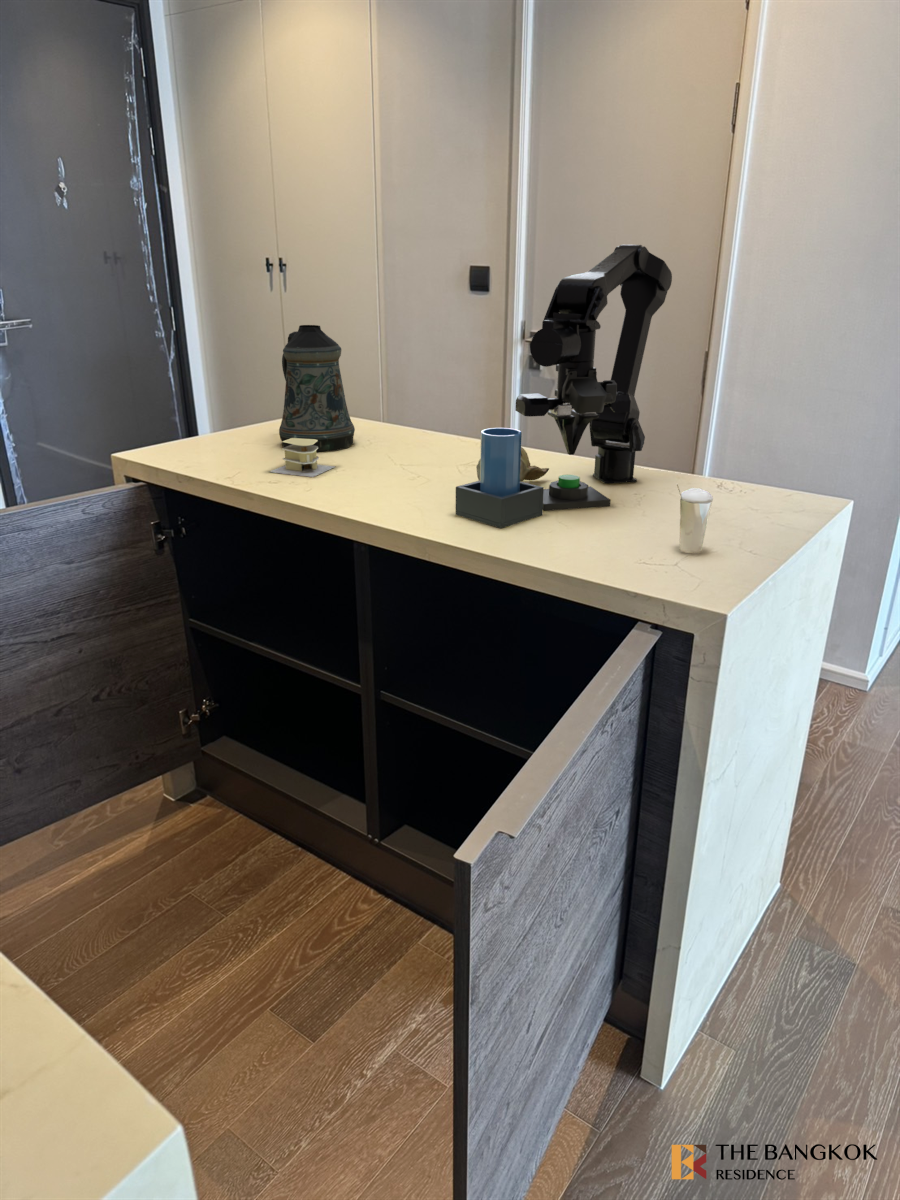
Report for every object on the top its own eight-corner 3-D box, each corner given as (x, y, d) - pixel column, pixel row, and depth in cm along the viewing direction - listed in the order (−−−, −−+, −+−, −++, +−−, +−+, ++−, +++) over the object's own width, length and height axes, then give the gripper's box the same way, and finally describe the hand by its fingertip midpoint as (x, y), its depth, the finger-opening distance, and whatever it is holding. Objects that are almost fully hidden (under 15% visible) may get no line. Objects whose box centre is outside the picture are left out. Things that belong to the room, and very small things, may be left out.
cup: (523, 507, 144) (526, 429, 139) (511, 518, 138) (514, 437, 133) (486, 503, 146) (488, 426, 141) (474, 513, 140) (475, 434, 135)
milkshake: (664, 545, 128) (671, 480, 125) (699, 544, 129) (707, 479, 125) (674, 555, 124) (682, 488, 120) (710, 554, 125) (719, 487, 121)
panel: (590, 492, 155) (591, 476, 154) (610, 506, 147) (611, 489, 146) (526, 496, 153) (527, 480, 152) (543, 511, 145) (544, 493, 143)
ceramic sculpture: (462, 440, 154) (506, 431, 166) (459, 487, 157) (503, 475, 169) (512, 448, 148) (554, 438, 160) (509, 497, 151) (550, 484, 163)
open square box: (497, 502, 149) (497, 475, 147) (542, 515, 142) (543, 487, 141) (455, 514, 142) (455, 486, 141) (501, 528, 136) (501, 499, 134)
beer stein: (329, 455, 181) (322, 331, 171) (253, 446, 188) (243, 327, 179) (369, 440, 195) (365, 324, 185) (297, 432, 202) (290, 321, 193)
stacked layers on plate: (268, 472, 168) (266, 444, 166) (293, 462, 176) (291, 435, 174) (313, 477, 165) (311, 448, 162) (336, 466, 172) (334, 439, 170)
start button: (574, 483, 151) (575, 473, 150) (582, 489, 148) (582, 479, 147) (555, 484, 150) (555, 475, 149) (562, 490, 147) (563, 480, 146)
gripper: (538, 368, 131) (534, 468, 138) (650, 364, 136) (641, 462, 142) (515, 359, 141) (513, 453, 148) (621, 356, 146) (614, 447, 152)
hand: (570, 454), depth 147 cm, fingers closed
